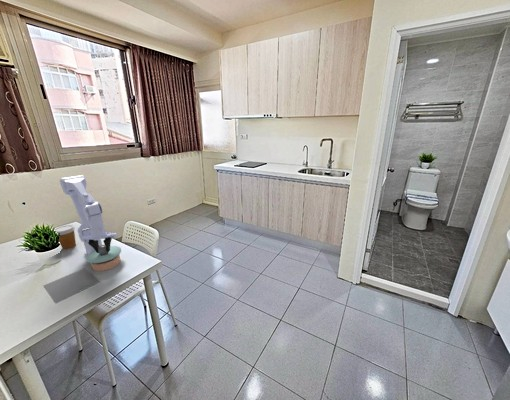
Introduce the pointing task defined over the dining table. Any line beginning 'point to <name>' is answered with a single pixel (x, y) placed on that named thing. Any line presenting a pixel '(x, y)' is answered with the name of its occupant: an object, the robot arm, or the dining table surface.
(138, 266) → the dining table surface
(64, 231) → the disposable coffee cup
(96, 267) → the bowl
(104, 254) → the lid
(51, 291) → the mat
